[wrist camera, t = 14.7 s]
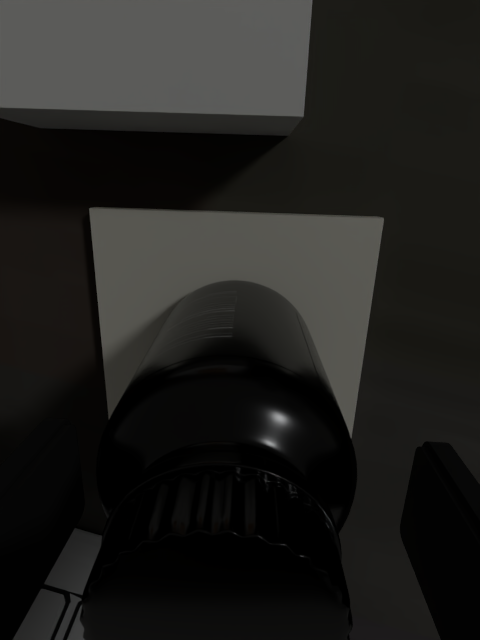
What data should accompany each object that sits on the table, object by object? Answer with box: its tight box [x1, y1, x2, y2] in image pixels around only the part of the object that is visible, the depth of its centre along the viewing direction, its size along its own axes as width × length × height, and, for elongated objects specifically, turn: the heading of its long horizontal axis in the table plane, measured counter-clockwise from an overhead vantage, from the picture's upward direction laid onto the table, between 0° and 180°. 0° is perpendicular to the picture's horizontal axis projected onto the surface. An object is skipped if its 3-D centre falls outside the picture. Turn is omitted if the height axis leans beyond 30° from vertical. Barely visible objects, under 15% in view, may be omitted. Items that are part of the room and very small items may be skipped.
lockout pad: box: [89, 207, 384, 437], centre depth 18 cm, size 12×12×1 cm
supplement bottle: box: [79, 280, 357, 640], centre depth 12 cm, size 7×7×12 cm
